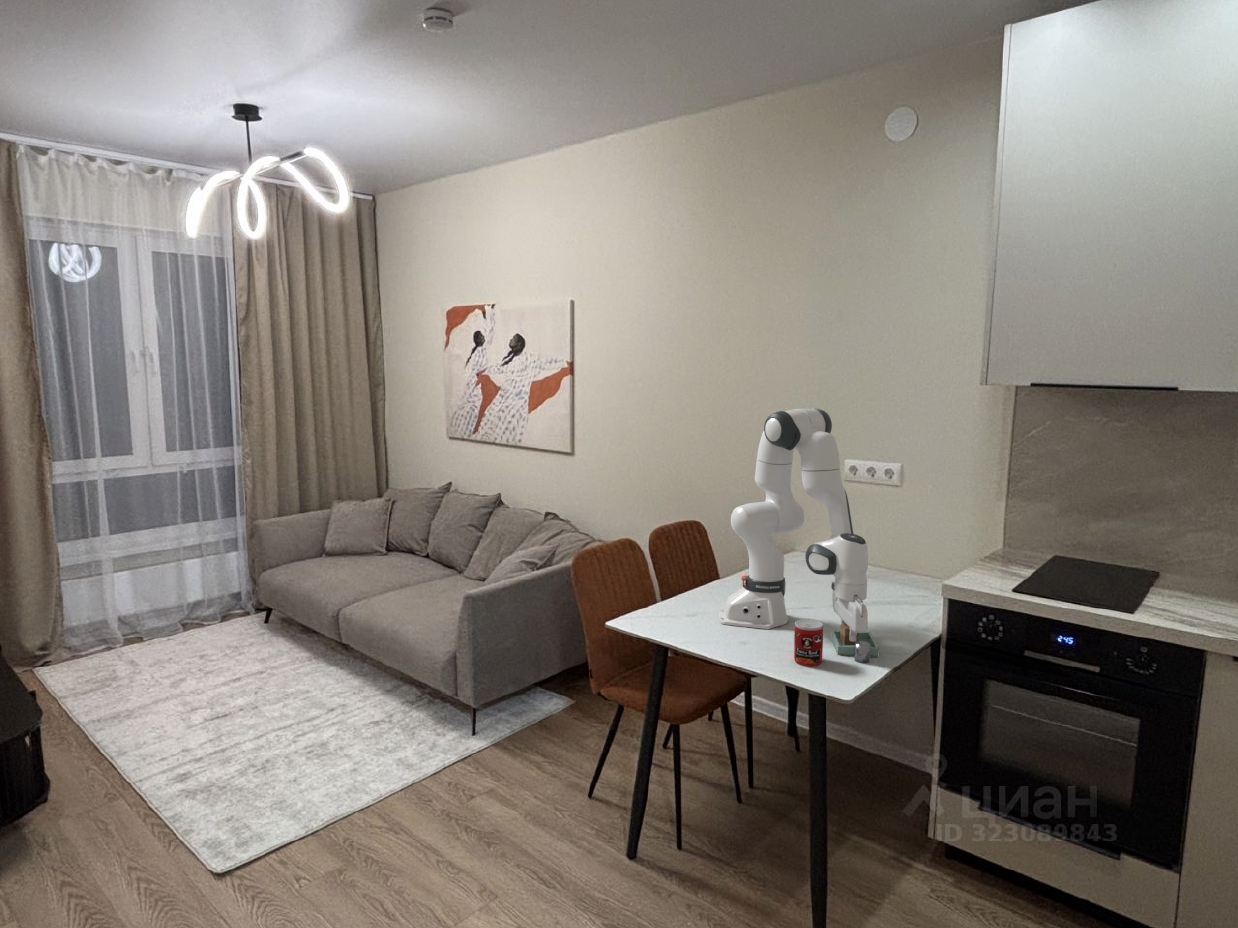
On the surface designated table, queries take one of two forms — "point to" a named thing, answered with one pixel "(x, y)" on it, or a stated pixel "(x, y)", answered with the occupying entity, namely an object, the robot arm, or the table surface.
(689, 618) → the table surface
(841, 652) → the tray
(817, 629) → the canned food
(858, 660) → the metal peg
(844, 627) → the walnut block
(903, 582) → the table surface
